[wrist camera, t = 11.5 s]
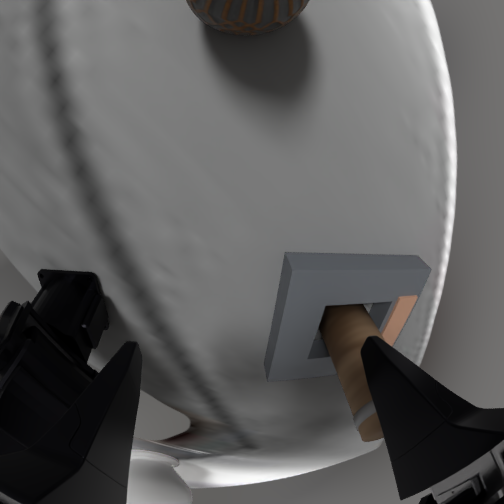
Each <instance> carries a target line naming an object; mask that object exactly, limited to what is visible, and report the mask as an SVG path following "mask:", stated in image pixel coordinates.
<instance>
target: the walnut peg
mask: <svg viewBox="0 0 504 504" xmlns="http://www.w3.org/2000/svg"><path fill="white" fill-rule="evenodd" d="M319 330H320V332H321V335H322V337H323V340H324V342H325V344H326V347H327V349H328V352H329V354H330V357H331V359H332V362H333V364H334V367H335V369H336V372H337V375H338V377H339V380H340V382H341V385H342V387H343V390H344V393H345V395H346V398H347V400H348V403H349V406H350V408H351V411H352V414H353V416H354V417H353V420H354V423H355V426H356V428H357V431H359V433H360V435H361V438H362V441H364V442H369V441H374V440H378V439H381V438H384V435H383V432H382V429H381V425H380V422H379V419H378V416H377V412H376V409H375V406H374V403H373V400H372V397H371V394H370V391H369V388H368V384H367V380H366V376H365V371H364V367H363V363H362V358H361V353H360V352H361V348H362V346H363V344H364V342H365V340H366V338H367V337H368V336H374V335H376V336H378V337H380V338H381V339H382V340H384V338H383V336H382V335H381V333H380V331H379V330H378V328H377V326H376V325H375V323H374V321H373V320H372V318H371V316H370V315H369V313H368V312H367V310H366V308H365V307H364V305H363V304H347V305H328V306H325V309H324V312H323V315H322V318H321V321H320V324H319ZM384 341H385V340H384ZM385 342H386V341H385Z"/></svg>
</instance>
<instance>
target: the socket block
mask: <svg viewBox="0 0 504 504" xmlns="http://www.w3.org/2000/svg"><path fill="white" fill-rule="evenodd" d="M431 270H432V269H431V268H430V267H429V266H428V265H427V264H426V263H425V262H424V261H423V260H422V259H421V258H420V257H419V256H412V255H372V254H332V253H292V252H285V255H284V261H283V267H282V272H281V278H280V284H279V289H278V295H277V300H276V305H275V311H274V316H273V321H272V326H271V331H270V336H269V341H268V346H267V351H266V356H265V361H264V366H265V372H266V377H267V382H269V381H283V380H295V379H305V378H314V377H322V376H329V375H336V374H337V372H336V369H335V367H334V364H333V362H332V359H331V357H330V354H329V352H328V349H327V347H326V344H325V342H324V340H314V339H315V336H316V333H317V330H318V327H319V324H320V321H321V318H322V315H323V312H324V309H325V306H328V305H347V304H364V303H373V306H372V308H371V310H370V313H369V315H370V316H371V318H372V320H373V321H374V323H375V325H376V326H377V328H378V330H379V331H380V333H381V335H382V336H383V338H384V340H385V341H386V343H388V344H389V345H390V346H392V347H393V346H394V344H395V342H396V340H397V339H398V337H399V335H400V333H401V332H402V330H403V328H404V326H405V324H406V322H407V320H408V318H409V317H410V315H411V313H412V311H413V309H414V307H415V305H416V303H417V301H418V298H419V296H420V294H421V292H422V290H423V288H424V286H425V283H426V281H427V279H428V277H429V274H430V272H431Z"/></svg>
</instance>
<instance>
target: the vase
mask: <svg viewBox="0 0 504 504" xmlns="http://www.w3.org/2000/svg"><path fill="white" fill-rule="evenodd" d="M186 1H187V3H188V5H189V7H190V8H191V10H192V11H193V13H194V14H195V15H196V16H197V17H198V18H199V19H200V20H201V21H203V22H204V23H206V24H207V25H209V26H210V27H212V28H214V29H216V30H219V31H222V32H225V33H229V34H235V35H258V34H263V33H267V32H271V31H274V30H276V29H279V28H281V27H283V26H284V25H286V24H288V23H289V22H290V21H292V20H293V19H294V18H296V17H297V16H298V15H299V14H300V13H301V12H302V11H303V9H304V8H305V7H306V5H307V4H308V2H309V0H186Z"/></svg>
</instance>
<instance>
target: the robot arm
mask: <svg viewBox="0 0 504 504" xmlns="http://www.w3.org/2000/svg"><path fill="white" fill-rule="evenodd" d="M89 277H91V278H92V279H90V278H89ZM38 278H39V281H40V284H41V287H42V288H41V290H40V291H39V292H38V294H37V296H36V297H35V298H34V300H33V301H32V303H30V302H29V301H26V302H25V303H23V304H22V305H20V304H18V303H16V302H14V301H11V302H9V303H8V305H7V306H6V308H5V309H4V310H3V312H2V313H1V315H0V504H126V503H127V488H128V477H129V467H130V459H131V450H132V443H133V435H134V429H135V422H136V415H137V409H138V404H139V397H140V383H141V369H142V355H141V351H140V348H139V344H138V343H137V342H135V341H127V342H126V343H125V344H124V345H123V346H122V347H121V348H120V349H119V351H118V352H117V353H116V354H115V355H114V356H113V357H112V359H111V360H110V361H109V362H108V363H107V364H106V366H105V367H104V368H103V369H102V370H101V371H100V373H98V372H97V371H96V370H93V369H92V368H91V367H90V366H88V365H87V361H88V358H89V356H90V353H91V350H92V349H96V348H97V346H98V343H99V341H100V338H101V335H102V332H103V330H107V329H108V328H109V322H108V314H107V311H106V307H105V303H104V300H103V297H102V295H101V294H100V290H99V286H98V282H97V278H96V276H95V274H94V273H92V272H80V271H63V270H47V269H41V270H40V271H39V272H38ZM360 353H361V358H362V363H363V367H364V371H365V376H366V380H367V384H368V388H369V391H370V394H371V397H372V400H373V403H374V406H375V409H376V412H377V416H378V419H379V422H380V425H381V429H382V432H383V435H384V439H385V442H386V446H387V449H388V453H389V456H390V460H391V464H392V468H393V472H394V475H395V480H396V484H397V488H398V492H399V496H400V500H403V499H406V498H408V497H410V496H413V495H415V494H417V493H419V492H421V491H423V490H425V489H427V488H429V487H430V490H431V492H432V493H430V494H428V495H426V496H425V497H423V498H421V500H420V502H419V504H504V408H495V409H483V408H478V407H476V406H474V405H472V404H471V403H469V402H467V401H466V400H464V399H462V398H461V397H459V396H458V395H456V394H455V393H453V392H452V391H450V390H449V389H447V388H446V387H445V386H443V385H442V384H440V383H439V382H438V381H436V380H435V379H434V378H433V377H431V376H430V375H429V374H427V373H426V372H425V371H423V370H422V369H421V368H419V367H418V366H417V365H415V364H414V363H413V362H412V361H410V360H409V359H408V358H406V357H405V356H404V355H402V354H401V353H400V352H398V351H397V350H396V349H394V348H393V347H392V346H390V345H389V344H388V343H386V342H385V341H384V340H382V339H381V338H380V337H378V336H376V335H374V336H368V337H367V338H366V340H365V342H364V344H363V346H362V348H361V352H360Z"/></svg>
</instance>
